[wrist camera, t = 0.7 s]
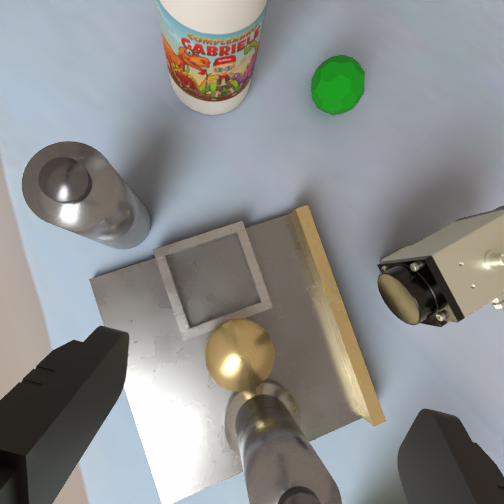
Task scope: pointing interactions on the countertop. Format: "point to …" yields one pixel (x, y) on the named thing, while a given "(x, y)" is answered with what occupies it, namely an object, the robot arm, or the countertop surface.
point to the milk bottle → (211, 50)
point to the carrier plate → (200, 398)
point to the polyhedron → (337, 84)
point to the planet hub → (84, 195)
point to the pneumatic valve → (447, 272)
